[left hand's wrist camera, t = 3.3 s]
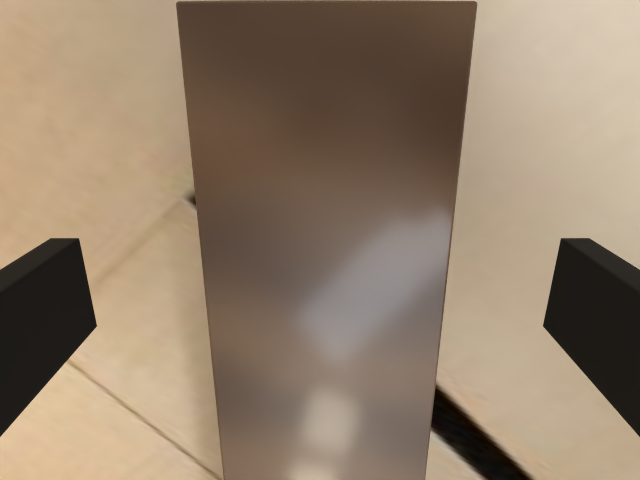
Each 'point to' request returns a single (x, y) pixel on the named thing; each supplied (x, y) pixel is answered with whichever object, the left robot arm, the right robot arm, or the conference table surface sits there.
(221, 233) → the wide beam
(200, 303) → the conference table surface
